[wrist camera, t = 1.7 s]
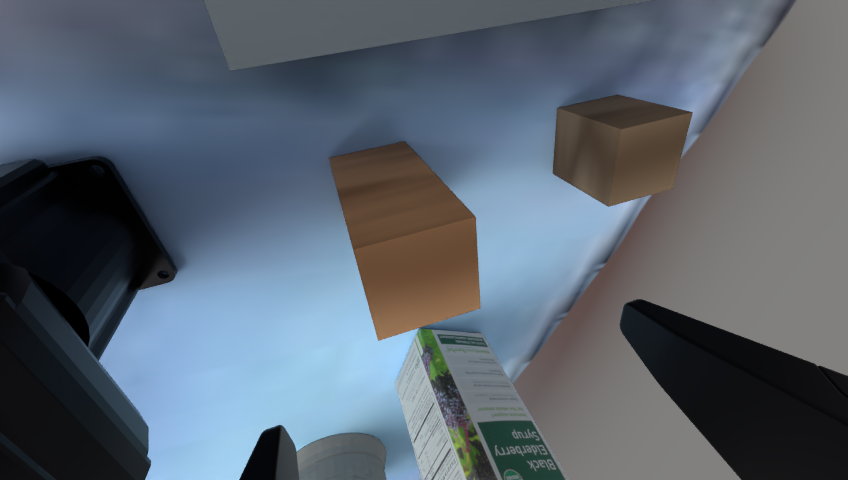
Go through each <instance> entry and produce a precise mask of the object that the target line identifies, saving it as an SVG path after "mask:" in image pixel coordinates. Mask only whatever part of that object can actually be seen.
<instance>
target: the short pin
mask: <svg viewBox="0 0 848 480" xmlns="http://www.w3.org/2000/svg"><path fill="white" fill-rule="evenodd" d="M692 113H693V112H689V111H685V110H681V109H677V108H672V107H668V106H664V105H659V104H655V103H651V102H647V101H642V100H638V99H634V98H630V97H625V96H621V95H614V96H609V97H605V98H600V99H595V100H591V101H586V102H582V103H577V104H573V105H568V106H564V107H559V108H557V119H556V133H555V148H554V162H553V174H554V175H556V176H558V177H559V178H561V179H563V180H564V181H566V182H568V183H569V184H571V185H573V186H574V187H576V188H578V189H579V190H581V191H583V192H584V193H586V194H588V195H590V196H591V197H593V198H595V199H596V200H598V201H600V202H601V203H603V204H605V205H606V206H608V207H609V206H613V205H616V204H620V203H623V202H627V201H630V200H634V199H637V198H641V197H644V196H648V195H651V194H655V193H658V192H662V191H665V190H669V189H672V188H673V185H674V181H675V177H676V174H677V170H678V165H679V162H680V158H681V155H682V151H683V147H684V143H685V139H686V136H687V132H688V128H689V124H690V121H691V117H692Z"/></svg>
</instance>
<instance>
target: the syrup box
mask: <svg viewBox="0 0 848 480" xmlns="http://www.w3.org/2000/svg"><path fill="white" fill-rule="evenodd" d="M396 388H397V392H398V395H399V399H400V402H401V406H402V409H403V412H404V417H405V420H406V424H407V427H408V431H409V435H410V438H411V442H412V445H413V449H414V453H415V456H416V460H417V464H418V467H419V470H420V474H421V478H422V480H569V479H568V477H567V475H566V474H565V472H564V470H563V469H562V467H561V465H560V464H559V462H558V460H557V459H556V457H555V455H554V453H553V452H552V450H551V448H550V447H549V445H548V444H547V442H546V440H545V439H544V437H543V435H542V434H541V432H540V430H539V429H538V427H537V425H536V424H535V422H534V420H533V418H532V417H531V415H530V413H529V412H528V410H527V408H526V407H525V405H524V403H523V402H522V400H521V398H520V397H519V395H518V393H517V392H516V390H515V388H514V386H513V385H512V383H511V381H510V380H509V378H508V376H507V375H506V373H505V371H504V369H503V368H502V366H501V364H500V363H499V361H498V359H497V357H496V356H495V354H494V352H493V351H492V349H491V347H490V345H489V343H488V342H487V340H486V338H485V337H484V335H483V334H482V333H478V332H476V333H467V332H459V331H446V330H432V329H418V331H417V334H416V336H415V338H414V340H413V343H412V345H411V347H410V350H409V352H408V354H407V356H406V359H405V361H404V363H403V366H402V368H401V371H400V373H399V376H398V378H397V380H396Z"/></svg>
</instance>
